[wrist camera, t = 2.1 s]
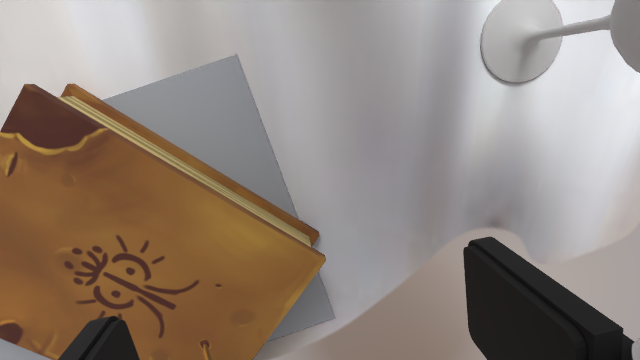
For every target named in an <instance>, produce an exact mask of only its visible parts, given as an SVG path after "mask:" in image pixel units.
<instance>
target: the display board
mask: <svg viewBox="0 0 640 360" xmlns="http://www.w3.org/2000/svg"><path fill="white" fill-rule="evenodd" d="M102 101H103V102H105V103H107V104H108V105H110V106H112V107H113V108H115V109H117V110H118V111H120V112H121V113H123V114H125V115H126V116H128V117H130V118H131V119H133V120H135V121H136V122H138V123H140V124H141V125H143V126H145V127H146V128H148V129H150V130H151V131H153V132H155V133H156V134H158V135H159V136H161V137H163V138H164V139H166V140H168V141H169V142H171V143H173V144H174V145H176V146H178V147H179V148H181V149H183V150H184V151H186V152H188V153H189V154H191V155H193V156H194V157H196V158H197V159H199V160H201V161H202V162H204V163H206V164H207V165H209V166H211V167H212V168H214V169H216V170H217V171H219V172H221V173H222V174H224V175H226V176H227V177H229V178H231V179H232V180H234V181H236V182H237V183H239V184H240V185H242V186H244V187H245V188H247V189H249V190H250V191H252V192H254V193H255V194H257V195H259V196H260V197H262V198H264V199H265V200H267V201H269V202H270V203H272V204H274V205H275V206H277V207H278V208H280V209H282V210H283V211H285V212H287V213H288V214H290V215H292V216H293V217H295V218H297V219H298V217H297V214H296V211H295V209H294V206H293V203H292V201H291V198H290V195H289V193H288V190H287V187H286V185H285V182H284V179H283V177H282V174H281V171H280V169H279V166H278V163H277V160H276V158H275V155H274V152H273V150H272V147H271V144H270V142H269V139H268V136H267V134H266V131H265V128H264V126H263V123H262V120H261V118H260V115H259V112H258V110H257V107H256V104H255V102H254V99H253V96H252V94H251V91H250V88H249V86H248V83H247V80H246V78H245V75H244V72H243V69H242V67H241V64H240V61H239V59H238V56H237V55H234V56H231V57H228V58H225V59H222V60H219V61H216V62H213V63H210V64H207V65H204V66H201V67H198V68H196V69H193V70H190V71H187V72H184V73H181V74H178V75H175V76H172V77H169V78H166V79H163V80H160V81H157V82H154V83H151V84H148V85H145V86H143V87H140V88H137V89H134V90H131V91H128V92H125V93H122V94H119V95H116V96H113V97H110V98H107V99H104V100H102ZM333 318H335V316H334V313H333V310H332V308H331V305H330V302H329V300H328V297H327V294H326V292H325V289H324V286H323V284H322V281H321V278H320V276H319V273H318V272H317V273H316V275H315V276H314V277H313V279H312V280H311V281H310V283H309V284H308V285H307V287H306V288H305V289H304V291H303V292H302V294H301V295H300V296H299V298H298V299H297V300H296V302H295V303H294V304H293V306H292V307H291V308H290V310H289V311H288V312H287V314H286V315H285V316H284V318H283V319H282V321H281V322H280V323H279V325H278V326H277V327H276V329H275V330H274V331H273V333H272V334H271V335H270V337H269V338H268V339H267V341H266V342H268V341H271V340H274V339H277V338H280V337H283V336H285V335H288V334H291V333H294V332H297V331H300V330H302V329H305V328H308V327H311V326H314V325H316V324H319V323H322V322H325V321H328V320H331V319H333ZM266 342H265V343H266ZM0 360H51V359H49V358H47V357H44V356H42V355H39V354H37V353H34V352H32V351H30V350H27V349H25V348H22V347H20V346H17V345H15V344H12V343H10V342H8V341H5V340H3V339H0Z"/></svg>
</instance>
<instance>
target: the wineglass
mask: <svg viewBox="0 0 640 360" xmlns="http://www.w3.org/2000/svg"><path fill="white" fill-rule="evenodd" d="M597 30H610V31H611V37H612V40H613V43H614V46H615V47H616V49H617V50H618V52H619V53H620V55H621V56H622V58H623V59H624V60H625V62H626V63H627V64H628V65H629V66H630V67H632V68H633V69H634V70H635V71H637V72H639V73H640V0H615V3H614V6H613V9H612V12H611V15H608V16H606V17H603V18H598V19H593V20H588V21H583V22H578V23H573V24H568V25H564V26H563V24H562V18H561V15H560V12H559V10H558V8H557V7H556V5H555V4H554V2H553V1H552V0H502V1H501V2H500V3H499V4H497V5H496V6H495V8H494V9H493V10H492V11H491V13H490V14H489V16H488V18H487V20H486V22H485V24H484V27H483V30H482V34H481V52H482V57H483V60H484V62H485V64H486V66H487V68H488V69H489V70H490V71H491V73H492V74H494V75H495V76H496V77H498V78H499V79H501V80H504V81H507V82H524V81H528V80H531V79H533V78H535V77H537V76H539V75H540V74H541V73H543V72H544V71H545V70H546V69H547V68H548V67H549V66H550V65H551V63H552V62H553V61H554V59H555V57H556V55H557V54H558V52H559V49H560V46H561V42H562V36H567V35H573V34H579V33H585V32H591V31H597Z"/></svg>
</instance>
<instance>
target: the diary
mask: <svg viewBox="0 0 640 360" xmlns="http://www.w3.org/2000/svg"><path fill="white" fill-rule="evenodd" d="M318 237H319V232H318V231H317V230H315V229H313V228H312V227H310V226H308V225H307V224H305V223H304V222H302V221H300V220H299V219H297V218H295V217H293V216H292V215H290V214H288V213H287V212H285V211H283V210H282V209H280V208H278V207H277V206H275V205H274V204H272V203H270V202H269V201H267V200H265V199H264V198H262V197H260V196H259V195H257V194H255V193H254V192H252V191H250V190H249V189H247V188H245V187H244V186H242V185H240V184H239V183H237V182H236V181H234V180H232V179H231V178H229V177H227V176H226V175H224V174H222V173H221V172H219V171H217V170H216V169H214V168H212V167H211V166H209V165H207V164H206V163H204V162H202V161H201V160H199V159H197V158H196V157H194V156H193V155H191V154H189V153H188V152H186V151H184V150H183V149H181V148H179V147H178V146H176V145H174V144H173V143H171V142H169V141H168V140H166V139H164V138H163V137H161V136H159V135H158V134H156V133H155V132H153V131H151V130H150V129H148V128H146V127H145V126H143V125H141V124H140V123H138V122H136V121H135V120H133V119H131V118H130V117H128V116H126V115H125V114H123V113H121V112H120V111H118V110H117V109H115V108H113V107H112V106H110V105H108V104H107V103H105V102H103V101H102V100H100V99H99V98H97V97H95V96H94V95H92V94H90V93H89V92H87V91H85V90H84V89H82V88H80V87H79V86H77V85H75V84H67V86H66V88H65V90H64V92H63V93H62V95H61V97H55V96H53V95H52V94H50V93H48V92H47V91H45V90H43V89H42V88H40V87H38V86H36V85H35V84H24V86H23V88H22V90H21V92H20V94H19V96H18V98H17V100H16V102H15V104H14V106H13V108H12V110H11V112H10V113H9V115H8V117H7V119H6V121H5V123H4V125H3V127H2V129H1V131H0V339H3V340H5V341H8V342H10V343H12V344H15V345H17V346H20V347H22V348H25V349H27V350H30V351H32V352H34V353H37V354H39V355H42V356H44V357H47V358H49V359H51V360H58V359H59V357H60V356H61V355H62V354H63V352H64V351H65V350H66V349H67V347H68V346H69V345H70V344H71V343H72V341H73V340H74V339H75V338H76V336H77V335H78V334H79V333H80V332H81V330H82V329H83V328H84V327H85V325H86V324H87V323H88V322H89V321H91V320H95V319H100V318H105V317H110V316H117V317H118V318H119V320H124V321H125V322H126V324H127V326H128V329H129V332H130V334H131V337H132V340H133V342H134V345H135V348H136V351H137V353H138V356H139V359H140V360H253V358H254V357H255V356H256V354H257V353H258V352H259V350H260V349H261V348H262V346H263V345H264V343H265V342H266V341H267V339H268V338H269V337H270V335H271V334H272V333H273V331H274V330H275V329H276V327H277V326H278V325H279V323H280V322H281V321H282V319H283V318H284V316H285V315H286V314H287V312H288V311H289V310H290V308H291V307H292V306H293V304H294V303H295V302H296V300H297V299H298V298H299V296H300V295H301V294H302V292H303V291H304V289H305V288H306V287H307V285H308V284H309V283H310V281H311V280H312V279H313V277H314V276H315V275H316V273H317V272H318V271H319V269H320V268H321V267H322V265H323V264H324V262H325V261H326V259H325V255H324V254H322V253H320V252H319V251H317V250H315V249H313V248H312V245H313V244H314V242H315V241H316V240H317V238H318Z"/></svg>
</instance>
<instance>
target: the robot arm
mask: <svg viewBox="0 0 640 360" xmlns="http://www.w3.org/2000/svg"><path fill="white" fill-rule="evenodd" d="M464 269H465V284H466V298H467V313H468V328H469V332H470V335H471V338H472V340H473V341H474V343H475V344H476V345H477V347H478V348H479V349H480V351H481V352H482V353H483V354H484V356H485V357H486V359H487V360H640V338H639V339H637V340H636V341H635V342H634V341H632V340H631V339H629V338H628V337H627V336H625V335H624V334H623V328H622V327H620V326H619V325H618V324H616V323H615V322H613V321H612V320H610V319H609V318H607V317H606V316H605V315H603V314H602V313H600V312H599V311H598V310H596V309H595V308H593V307H592V306H590V305H589V304H588V303H586V302H585V301H583V300H582V299H580V298H579V297H577V296H576V295H575V294H573V293H572V292H570V291H569V290H568V289H566V288H565V287H563V286H562V285H560V284H559V283H558V282H556V281H555V280H553V279H552V278H550V277H549V276H547V275H546V274H545V273H543V272H542V271H540V270H539V269H537V268H536V267H535V266H533V265H532V264H530V263H529V262H527V261H526V260H525V259H523V258H522V257H520V256H519V255H517V254H516V253H515V252H513V251H512V250H510V249H509V248H507V247H506V246H505V245H503V244H502V243H500V242H499V241H497V240H496V239H495V238H493V237H485V238H481V239H476V240H472V241H470V242H469V244H468V247H465V248H464ZM58 360H140V359H139V356H138V353H137V351H136V348H135V345H134V342H133V340H132V337H131V334H130V332H129V329H128V326H127V324H126V322H125V321H124V320H119V318H118V317H117V316H110V317H105V318H100V319H95V320H91V321H89V322H88V323H87V324H86V325H85V327H84V328H83V329H82V330H81V332H80V333H79V334H78V335H77V336H76V338H75V339H74V340H73V341H72V343H71V344H70V345H69V346H68V347H67V349H66V350H65V351H64V352H63V354H62V355H61V356H60V357H59V359H58Z"/></svg>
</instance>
